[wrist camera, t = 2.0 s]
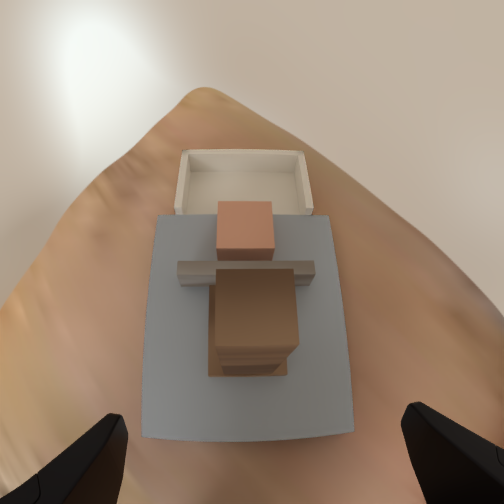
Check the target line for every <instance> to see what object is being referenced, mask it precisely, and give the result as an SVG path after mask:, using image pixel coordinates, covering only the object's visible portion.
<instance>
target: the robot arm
mask: <svg viewBox="0 0 504 504" xmlns="http://www.w3.org/2000/svg"><path fill="white" fill-rule="evenodd" d="M401 428H402V432H403V435H404V439H405V442H406V446H407V450H408V454H409V457H410V461H411V463H412V466H413V469H414V471H415V474H416V477H417V479H418V482H419V484H420V487H421V490H422V492H423V495H424V498H425V500H426V503H427V504H504V449H502V448H500V447H499V446H495V444H493V443H491V442H489V441H488V440H486V439H484V438H482V437H480V436H479V435H477V434H475V433H473V432H472V431H470V430H468V429H466V428H465V427H463V426H461V425H459V424H458V423H456V422H454V421H453V420H451V419H449V418H447V417H446V416H444V415H442V414H441V413H439V412H437V411H435V410H434V409H432V408H430V407H429V406H427V405H425V404H424V403H422V402H414V403H410V404H409V405H408V406H407V408H406V410H405V413H404V415H403V417H402V420H401ZM127 442H128V431H127V428H126V425H125V422H124V419H123V417H122V415H120V414H114V413H109V414H107V415H106V416H105V417H103V418H102V419H101V420H100V421H99V422H98V423H96V424H95V425H94V426H93V427H92V428H90V429H89V430H88V431H87V432H86V433H85V434H83V435H82V436H81V437H80V438H79V439H77V440H76V441H75V442H74V443H73V444H71V445H70V446H69V447H68V448H67V449H65V450H64V451H63V452H62V453H61V454H59V455H58V456H57V457H56V458H54V459H53V460H52V461H51V462H50V463H48V464H47V465H46V466H45V467H43V468H42V469H41V470H40V471H38V474H35V475H33V476H32V477H31V478H30V479H28V480H27V481H26V482H24V483H23V484H22V485H20V486H19V487H18V488H16V489H15V490H13V491H11V492H10V493H8V494H7V495H5V496H3V497H2V498H0V504H117V500H118V495H119V491H120V487H121V483H122V479H123V473H124V465H125V457H126V449H127Z"/></svg>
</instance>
